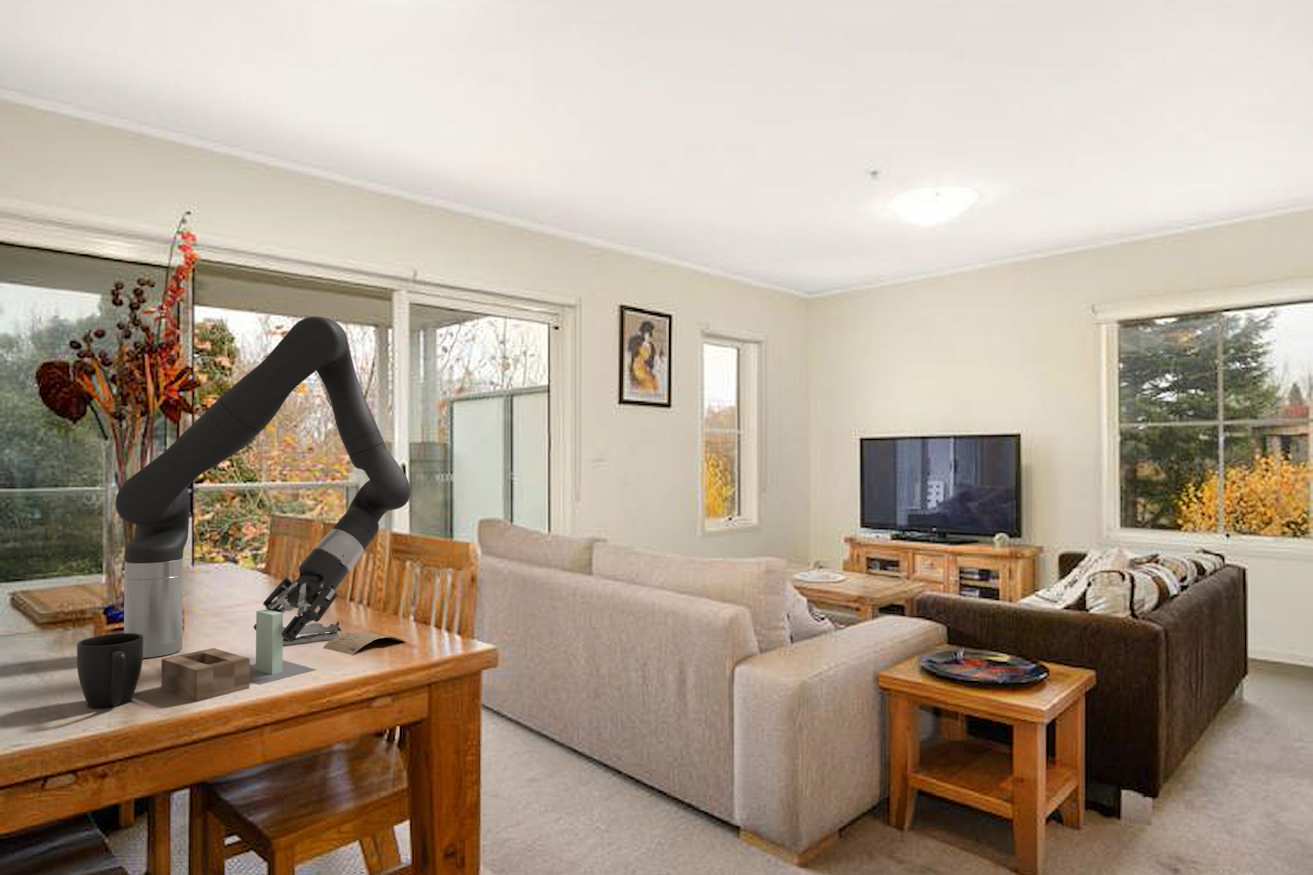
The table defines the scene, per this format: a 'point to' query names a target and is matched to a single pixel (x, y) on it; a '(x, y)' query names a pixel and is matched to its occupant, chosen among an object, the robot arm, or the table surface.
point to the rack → (205, 674)
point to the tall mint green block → (269, 641)
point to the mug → (109, 668)
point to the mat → (287, 671)
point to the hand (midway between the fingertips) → (271, 634)
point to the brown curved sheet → (353, 641)
